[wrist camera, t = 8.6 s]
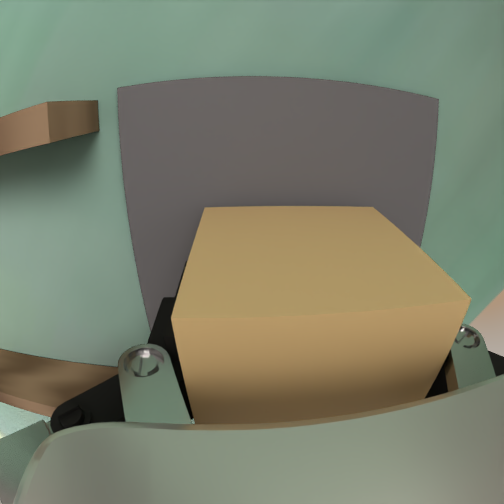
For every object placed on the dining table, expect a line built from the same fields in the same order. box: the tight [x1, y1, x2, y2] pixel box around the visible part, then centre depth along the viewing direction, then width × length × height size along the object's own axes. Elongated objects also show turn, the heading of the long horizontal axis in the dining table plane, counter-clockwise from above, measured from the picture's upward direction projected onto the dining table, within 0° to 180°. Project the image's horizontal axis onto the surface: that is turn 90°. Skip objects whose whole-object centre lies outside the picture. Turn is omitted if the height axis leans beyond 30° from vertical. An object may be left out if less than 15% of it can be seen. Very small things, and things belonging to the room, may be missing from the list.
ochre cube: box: [171, 206, 471, 424], centre depth 9 cm, size 6×6×6 cm
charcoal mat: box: [117, 76, 439, 331], centre depth 13 cm, size 12×15×1 cm
